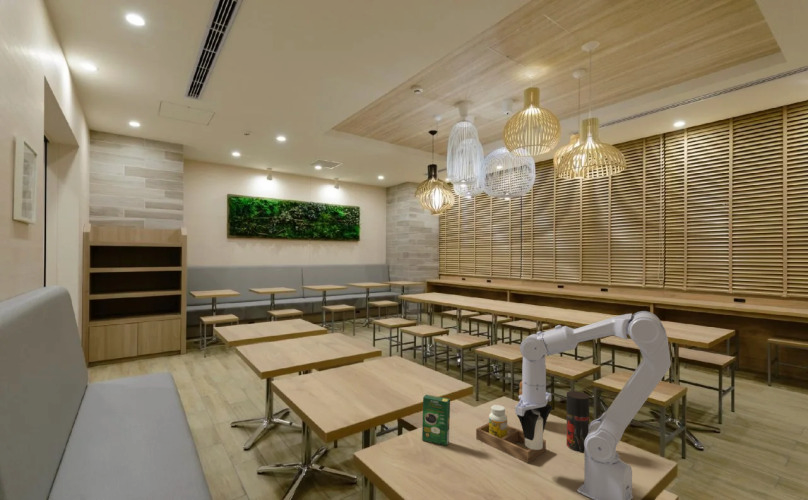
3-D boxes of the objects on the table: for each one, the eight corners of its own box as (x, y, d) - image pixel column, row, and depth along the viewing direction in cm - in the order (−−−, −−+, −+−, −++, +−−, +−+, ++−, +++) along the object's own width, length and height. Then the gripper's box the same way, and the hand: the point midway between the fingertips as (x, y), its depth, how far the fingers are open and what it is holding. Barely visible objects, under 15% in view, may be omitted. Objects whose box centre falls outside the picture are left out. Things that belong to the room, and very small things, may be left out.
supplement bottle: (511, 441, 111) (511, 409, 111) (497, 445, 109) (497, 412, 109) (498, 433, 116) (498, 402, 116) (485, 437, 113) (485, 406, 113)
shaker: (546, 445, 95) (546, 412, 95) (537, 451, 92) (537, 417, 92) (530, 439, 99) (530, 407, 99) (521, 444, 96) (521, 411, 96)
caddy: (545, 450, 106) (545, 440, 106) (527, 463, 100) (528, 452, 100) (494, 429, 119) (494, 419, 119) (476, 438, 112) (476, 429, 112)
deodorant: (591, 453, 105) (591, 399, 105) (569, 450, 106) (569, 398, 106) (585, 442, 110) (585, 392, 111) (564, 440, 112) (564, 390, 112)
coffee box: (450, 442, 111) (450, 397, 111) (447, 446, 108) (448, 401, 108) (425, 436, 114) (425, 393, 114) (421, 441, 111) (421, 397, 111)
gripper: (534, 372, 103) (534, 421, 103) (504, 384, 94) (504, 438, 94) (558, 379, 98) (558, 430, 98) (530, 392, 89) (529, 450, 88)
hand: (533, 435), depth 96 cm, fingers closed on shaker, 4 cm apart
